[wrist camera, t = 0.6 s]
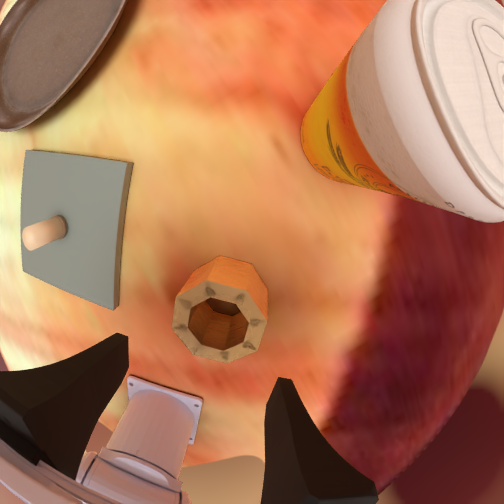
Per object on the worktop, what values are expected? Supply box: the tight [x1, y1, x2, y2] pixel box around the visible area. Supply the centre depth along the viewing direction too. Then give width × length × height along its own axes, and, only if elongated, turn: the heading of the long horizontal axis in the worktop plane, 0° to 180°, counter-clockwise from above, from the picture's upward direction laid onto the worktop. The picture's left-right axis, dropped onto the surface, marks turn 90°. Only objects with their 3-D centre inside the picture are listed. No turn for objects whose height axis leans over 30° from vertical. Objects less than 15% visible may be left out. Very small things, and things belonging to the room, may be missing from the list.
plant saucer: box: [0, 0, 127, 132], centre depth 13 cm, size 21×21×3 cm
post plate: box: [21, 150, 133, 311], centre depth 17 cm, size 12×12×5 cm
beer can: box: [300, 0, 504, 223], centre depth 10 cm, size 6×6×15 cm
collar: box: [172, 256, 268, 363], centre depth 18 cm, size 6×6×4 cm
